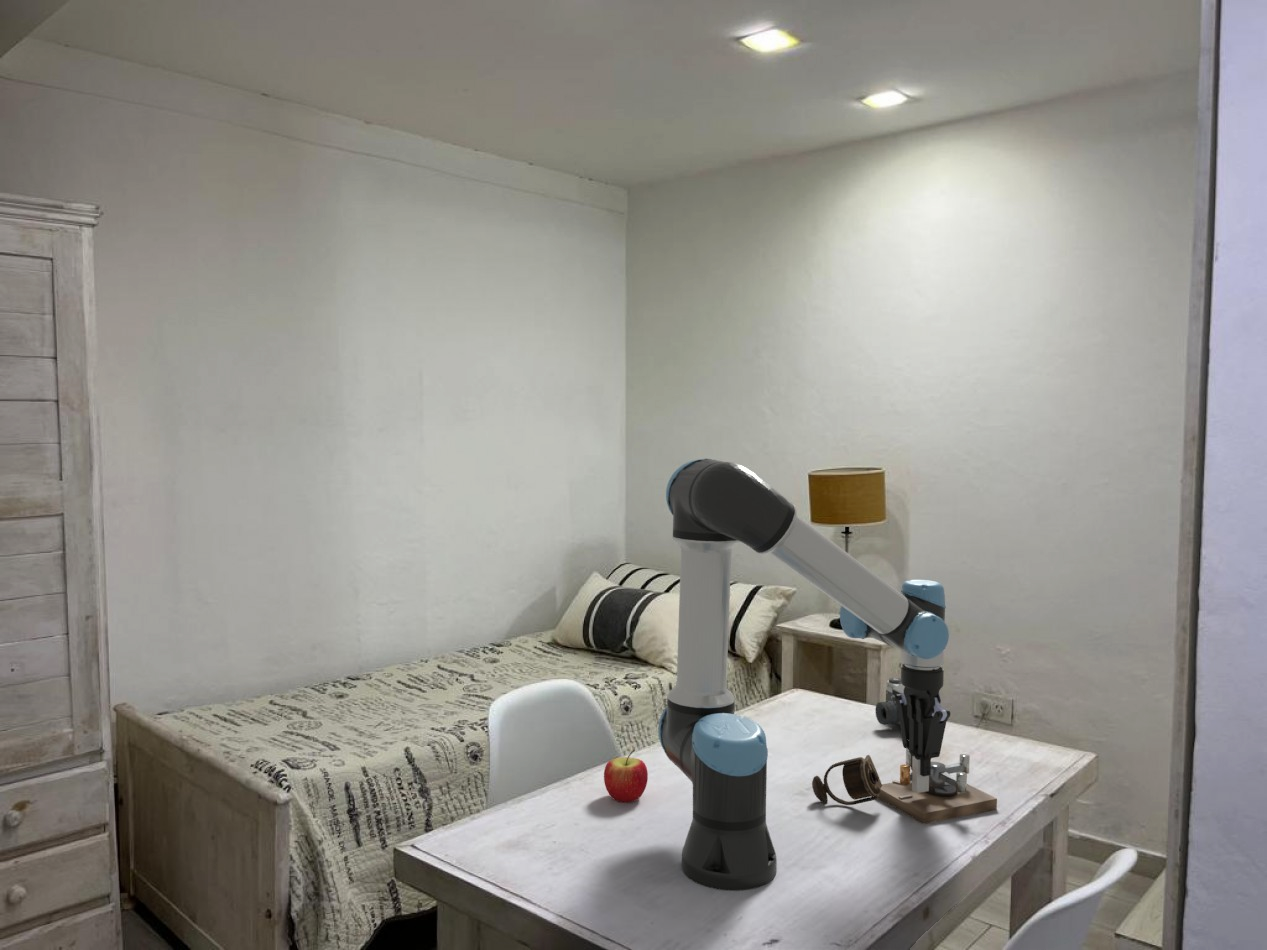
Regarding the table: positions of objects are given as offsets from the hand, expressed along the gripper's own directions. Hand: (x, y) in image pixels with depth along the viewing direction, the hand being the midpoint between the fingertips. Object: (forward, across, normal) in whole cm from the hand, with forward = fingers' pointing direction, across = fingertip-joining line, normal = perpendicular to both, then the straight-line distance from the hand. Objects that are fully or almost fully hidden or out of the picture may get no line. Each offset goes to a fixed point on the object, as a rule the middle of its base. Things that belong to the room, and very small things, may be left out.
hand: (920, 790), depth 180 cm
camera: (+4, +41, -27) cm, 49 cm away
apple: (+4, +25, +49) cm, 55 cm away
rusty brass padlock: (+4, +5, +13) cm, 14 cm away
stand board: (+3, +1, -4) cm, 6 cm away
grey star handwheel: (+1, +1, -4) cm, 5 cm away
